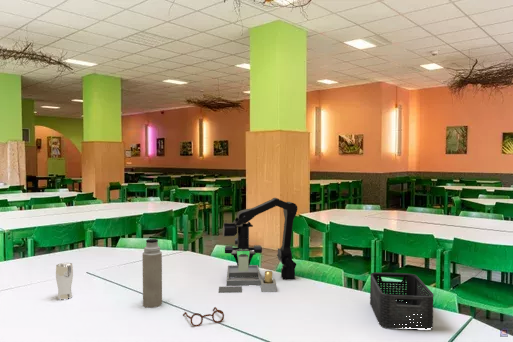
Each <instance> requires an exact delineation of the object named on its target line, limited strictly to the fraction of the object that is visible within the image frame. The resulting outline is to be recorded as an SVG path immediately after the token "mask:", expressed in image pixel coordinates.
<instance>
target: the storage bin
mask: <svg viewBox="0 0 513 342" xmlns="http://www.w3.org/2000/svg"><path fill="white" fill-rule="evenodd" d="M382 277H385V278H402V280H401V281H391V280H389V281H388V280H387V281H385V280H383V279H382ZM369 294H370V296H369V299H370V300H369V304H370V307H371V308H372V309H371V310H372V311H373V313H374V316H375V317H376V321H377V323H378V322H379V323H378V325H379V324H380V325H381V326H383V327H386V328H385V329H387V328H402V327H403V328H405V327H407V328H409V327H411V328H425V329H427V328H431V327H433V328H434V326H433V325H434V324H433V323H434V296H435V295H434V293H433V292H432V290H430V289H429V287H428V286H427V285H426V284H425V283H424V281H422V280H421V279H420V277H418V275H417V274H413V273H406V272H405V273H403V272H402V273H401V272H372V273H370V290H369ZM406 302H407V303H406ZM413 314H415V315H413ZM417 314H418V315H417ZM421 314H422V315H421ZM406 316H407V317H406ZM409 316H410V317H409ZM420 317H422V318H420ZM409 319H411V320H409ZM413 319H414V320H413ZM410 322H411V323H410ZM413 322H414V323H413ZM417 322H418V323H417ZM420 322H421V323H420ZM394 324H395V325H394ZM399 324H400V325H399ZM402 324H403V325H402ZM405 324H407V325H405ZM380 325H379V326H380ZM416 325H418V326H416ZM421 325H422V326H421ZM381 326H380V327H381ZM383 327H382V328H383Z"/></svg>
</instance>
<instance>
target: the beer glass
mask: <svg viewBox="0 0 513 342" xmlns="http://www.w3.org/2000/svg"><path fill="white" fill-rule="evenodd" d="M73 267H74V266H73V263H72V262H62V263H58V264H56V267H55V279H56V284H57V298H58V299H67V300H69V299H68V298H70V299H71V297H72V298H73V292H72V286H73V278H74V269H73ZM57 298H56V299H57ZM58 299H57V300H58Z"/></svg>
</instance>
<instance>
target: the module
mask: <svg viewBox="0 0 513 342" xmlns="http://www.w3.org/2000/svg"><path fill="white" fill-rule="evenodd" d="M237 256H238V271H248V260H249V254H247V253H241V254H237Z"/></svg>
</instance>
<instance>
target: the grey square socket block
mask: <svg viewBox="0 0 513 342" xmlns="http://www.w3.org/2000/svg"><path fill="white" fill-rule="evenodd" d="M259 286H260V287H259V288H260V293H276V292H277V282H276V279H274V278H272V283H265V279H261V280H260V285H259Z"/></svg>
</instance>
